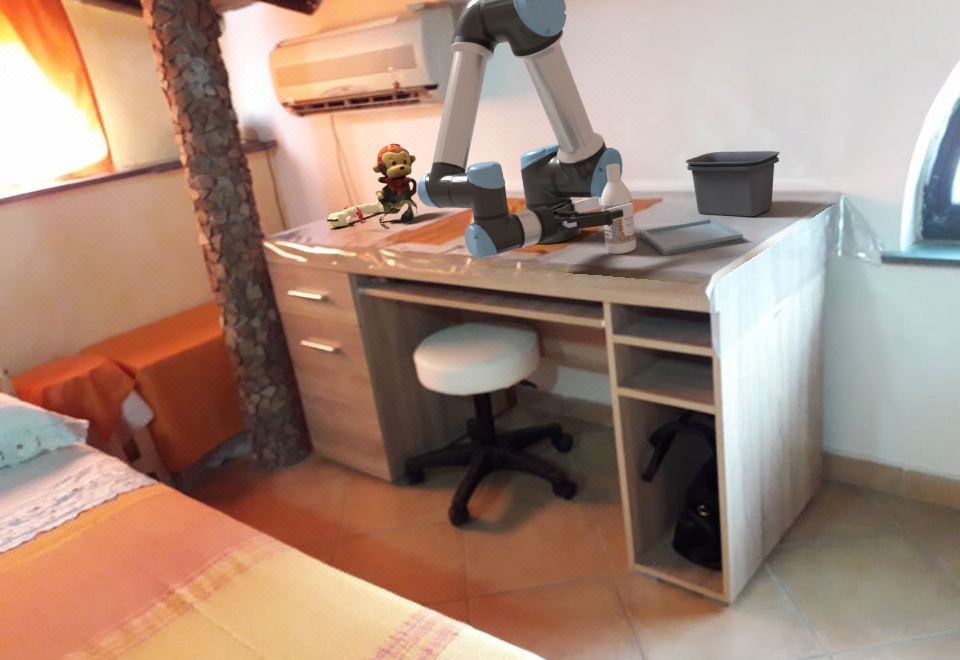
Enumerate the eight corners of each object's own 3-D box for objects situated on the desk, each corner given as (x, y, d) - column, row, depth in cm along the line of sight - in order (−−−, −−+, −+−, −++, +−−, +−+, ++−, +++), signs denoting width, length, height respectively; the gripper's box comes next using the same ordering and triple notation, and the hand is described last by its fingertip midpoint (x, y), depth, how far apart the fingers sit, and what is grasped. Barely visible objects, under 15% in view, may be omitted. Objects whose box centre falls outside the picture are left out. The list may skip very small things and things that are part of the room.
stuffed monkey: (362, 223, 250) (359, 143, 247) (401, 222, 262) (399, 146, 259) (393, 223, 240) (390, 139, 237) (432, 222, 252) (430, 143, 249)
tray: (640, 237, 190) (640, 230, 189) (712, 225, 191) (712, 218, 190) (664, 255, 173) (663, 247, 173) (742, 241, 174) (742, 234, 173)
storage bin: (682, 216, 204) (679, 161, 199) (716, 201, 213) (713, 149, 208) (757, 221, 188) (756, 162, 183) (790, 205, 197) (789, 148, 192)
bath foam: (622, 256, 178) (613, 169, 170) (600, 252, 183) (590, 168, 176) (642, 247, 181) (634, 161, 174) (620, 244, 187) (611, 160, 179)
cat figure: (375, 214, 277) (320, 227, 259) (372, 190, 274) (316, 201, 256) (395, 215, 270) (339, 228, 253) (391, 190, 268) (335, 201, 250)
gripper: (510, 234, 182) (586, 214, 190) (565, 252, 161) (649, 229, 168) (505, 203, 180) (583, 183, 187) (561, 217, 158) (646, 194, 166)
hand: (614, 205), depth 178 cm, fingers open, 13 cm apart
